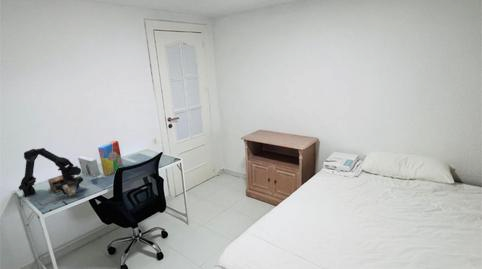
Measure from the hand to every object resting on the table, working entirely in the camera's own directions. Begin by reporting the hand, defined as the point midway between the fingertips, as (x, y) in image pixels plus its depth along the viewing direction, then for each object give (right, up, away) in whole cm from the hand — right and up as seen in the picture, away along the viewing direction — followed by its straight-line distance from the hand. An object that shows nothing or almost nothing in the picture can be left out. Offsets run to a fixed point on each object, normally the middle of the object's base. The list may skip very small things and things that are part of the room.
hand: (71, 192), depth 196 cm
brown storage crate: (-14, +2, +12) cm, 18 cm away
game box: (+13, +11, +41) cm, 44 cm away
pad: (-9, -4, -7) cm, 12 cm away
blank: (-4, -1, +4) cm, 5 cm away
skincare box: (-7, +9, +37) cm, 38 cm away
